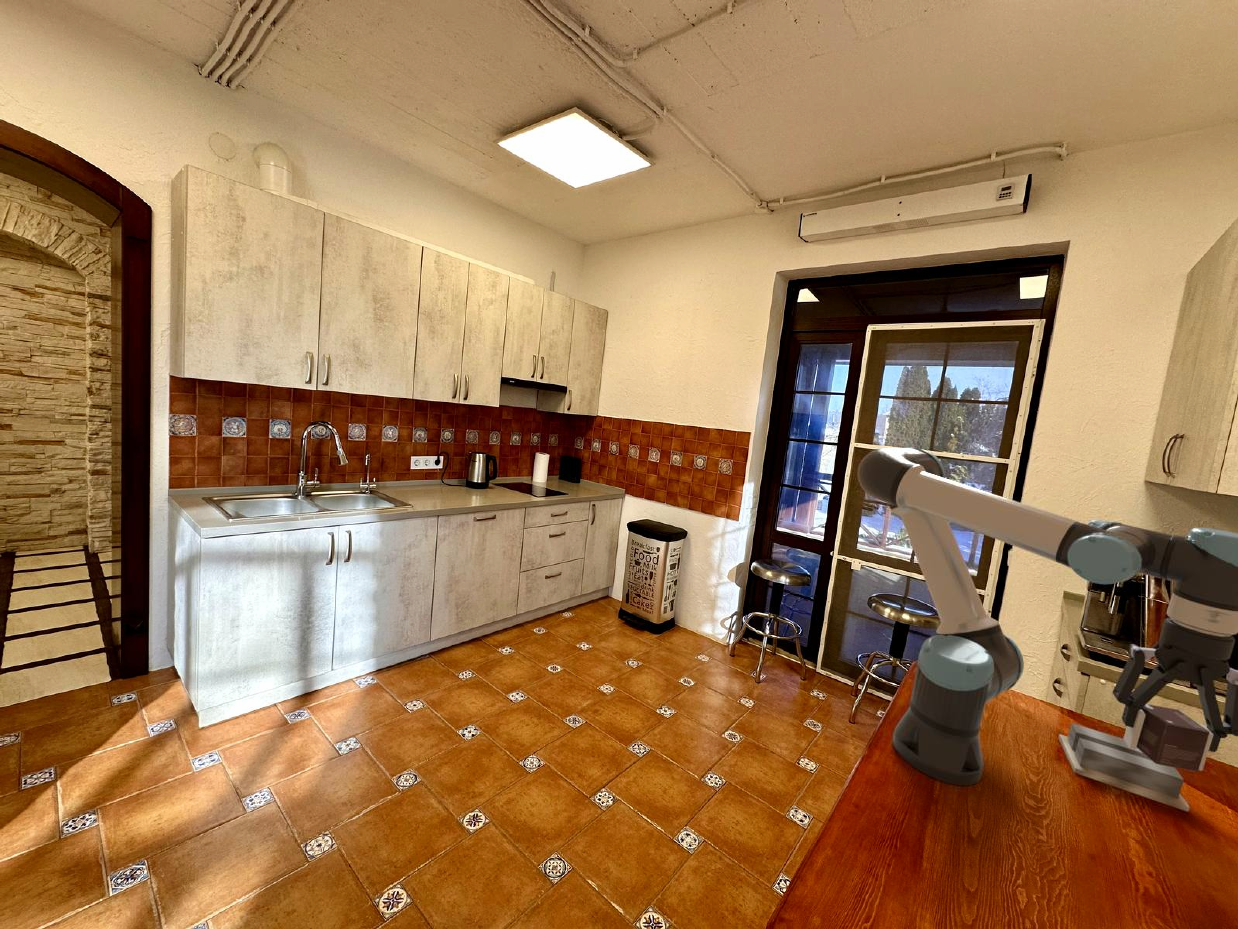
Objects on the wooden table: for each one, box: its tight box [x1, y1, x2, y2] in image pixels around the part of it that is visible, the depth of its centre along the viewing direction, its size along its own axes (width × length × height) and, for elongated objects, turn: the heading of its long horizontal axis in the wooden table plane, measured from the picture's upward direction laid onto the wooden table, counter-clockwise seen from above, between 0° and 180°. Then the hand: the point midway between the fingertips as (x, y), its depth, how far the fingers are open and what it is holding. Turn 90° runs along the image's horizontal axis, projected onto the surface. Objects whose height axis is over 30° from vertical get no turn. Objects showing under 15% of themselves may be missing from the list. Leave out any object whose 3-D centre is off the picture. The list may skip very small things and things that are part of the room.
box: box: [1136, 703, 1210, 773], centre depth 83 cm, size 6×6×7 cm
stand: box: [1058, 722, 1190, 813], centre depth 100 cm, size 16×12×5 cm
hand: (1161, 754), depth 84 cm, fingers closed on box, 7 cm apart
